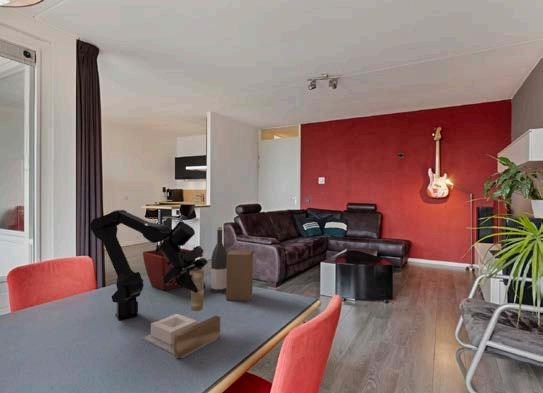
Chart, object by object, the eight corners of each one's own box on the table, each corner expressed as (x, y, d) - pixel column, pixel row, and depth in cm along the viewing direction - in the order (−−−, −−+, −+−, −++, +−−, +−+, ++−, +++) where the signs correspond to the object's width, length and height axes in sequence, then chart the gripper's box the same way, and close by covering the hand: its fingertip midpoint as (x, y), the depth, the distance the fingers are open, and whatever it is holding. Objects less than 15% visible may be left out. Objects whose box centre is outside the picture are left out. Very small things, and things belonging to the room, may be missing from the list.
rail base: (140, 340, 94) (140, 319, 94) (181, 322, 107) (182, 304, 107) (178, 359, 84) (179, 336, 83) (219, 337, 97) (220, 317, 97)
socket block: (150, 335, 96) (150, 323, 96) (176, 324, 104) (176, 313, 104) (170, 345, 90) (170, 332, 90) (196, 332, 98) (196, 320, 98)
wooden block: (252, 293, 139) (253, 250, 139) (248, 301, 129) (249, 254, 129) (231, 292, 140) (231, 249, 140) (225, 300, 130) (226, 254, 130)
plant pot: (175, 277, 164) (175, 246, 163) (197, 285, 151) (197, 251, 151) (141, 285, 149) (141, 251, 149) (162, 294, 137) (162, 257, 137)
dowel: (193, 311, 100) (194, 272, 100) (189, 308, 103) (189, 270, 103) (205, 309, 103) (205, 271, 103) (200, 305, 106) (200, 268, 106)
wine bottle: (224, 293, 139) (224, 228, 139) (207, 291, 141) (208, 227, 141) (230, 287, 147) (230, 226, 147) (214, 286, 149) (215, 225, 149)
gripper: (170, 243, 95) (199, 282, 92) (203, 236, 113) (229, 268, 109) (150, 265, 98) (177, 304, 95) (185, 255, 116) (210, 287, 112)
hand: (200, 290), depth 103 cm, fingers closed on dowel, 4 cm apart
